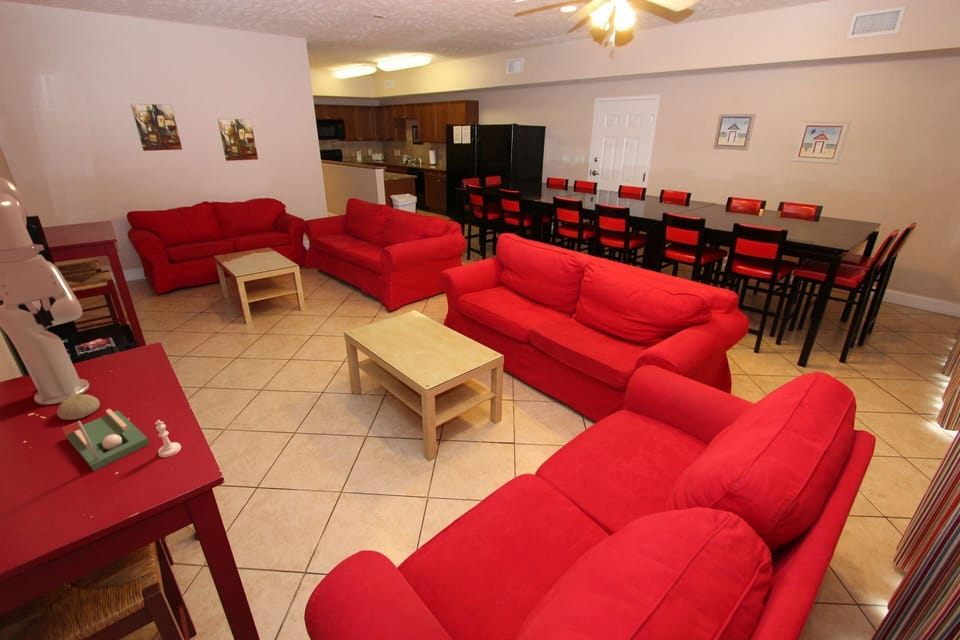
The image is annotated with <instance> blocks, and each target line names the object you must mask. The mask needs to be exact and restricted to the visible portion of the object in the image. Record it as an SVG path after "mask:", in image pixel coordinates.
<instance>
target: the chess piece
mask: <svg viewBox="0 0 960 640" xmlns="http://www.w3.org/2000/svg"><path fill="white" fill-rule="evenodd" d="M164 423H165V422H164V421H161V420H160V419H158V420H157V421H156V422H155V423H154V424H155V426H156V425H157V426H156V427H155V430H157V431H158V437H159V438H162V442H163V445H162V446H161V447H160V448H159V449H158V451H157V452H158V454H157V455H158V456H159V457H160V458H168V457H172V456H174V455H177V453H178V452H180V451H181V448H182V445H181V444H180V443H179V442H176V441H175V442H171V440H170V439H169V437H168V435H169V434H170V433H169V431H168V430H166V427H167V425H166V424H164Z"/></svg>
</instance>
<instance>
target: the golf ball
mask: <svg viewBox="0 0 960 640" xmlns="http://www.w3.org/2000/svg"><path fill="white" fill-rule="evenodd" d="M121 444H122V438H121V437H120V436H119V435H117V434H111V435H108V436H107V437H105V438H104V439H103V441H102V446H103V447H104V448H105V449H107V450H113V449H115V448H117V447H119V446H120V445H121Z"/></svg>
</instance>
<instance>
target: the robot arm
mask: <svg viewBox="0 0 960 640" xmlns="http://www.w3.org/2000/svg"><path fill="white" fill-rule="evenodd" d="M41 251H45V248H44V245H43V244H35V243H33V240H32V238H31V236H30V234H29V232H28V229H27V217H26V211H25V204H24V200H23V197H22V194H21V192H20V190H19V189H18V188H17V186H16V185H15V184H14V183H13V182H12V181H10V180H9V179H6V178H3V177H0V301H3V303H1V304H0V328H2V330H3V331H4V333H5V334H6V335H7V336H8V338H9V339H10V341H11V343H12V344H13V345H14V347H15V349H16V351H17V352H18V355H19V357H20V359H21V360H22V362H23V365H25V368H26V370H27V372H28V374H29V377H30V378H31V379H32V382H33V383H34V385H35V387H36V389H37V392H36V393H35V394H34V397H33V399H34V401H35V402H36V404H39V405H44V406H45V405H47V406H48V405H55V404H59V403H60V404H61V403H62V402H63V401H64V400H66V399H68V398H71V397H73V396H77V395H83V394H84V393H85V392H86V391H87V390H88V389H89V388H90V383H89V381H88V380H87V379H84V378H80V377H79V375H78V372H77V370H76V368H75V366H74V364H73V362H72V360H71V357H70V355H69V353H68V352H67V349H66V347H65V345H64V343H63V340H62V338H60V337H59V335H57V334H55V333H53V332H51V331H47V330H46V329H49V328H50V327H54V326H57V325H61V324H66V323H69V322H73V321H76V320H78V319H79V318H81V317H82V316H83V308H82V306H81V304H80V301H79V300H78V298H77V296H76V295H75V294H74V292H73V290H72V288H71V287H70V286H69V284H68V281H67V280H66V279H65V277H64V276H63V274H62V272H61V271H60V270H59V268H58V267H57V266H56V265H55V264H53V263H52V262H51V261H48V260H46V259H45V257H44V256H43V255H42V254H39V253H40V252H41Z"/></svg>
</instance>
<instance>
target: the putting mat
mask: <svg viewBox="0 0 960 640" xmlns="http://www.w3.org/2000/svg"><path fill="white" fill-rule="evenodd" d="M105 412H106V414H105V415H103V416H101V417H98V418H96V419H94V420H92V421H88V422H87V423H84V424H82V422H81V420H78V421H76V422H73V423H71V424H68V425H67V426H64V427H61V430H62V431H63V433H64V435H65V437H66V438H67V440H68V442H70V443H71V445H72V446H73V447H74V449H75V450H76V452H77V453H78V454H79V455H80V456H81V457H82V458H83V459H84V461H85V462H86V464H88V466H89V467H90V468H91V470H92V471H93V472H95V471H98V470H100V469H101V468H103V467H106V466H107V465H110V464H112V463H114V462H116V461H118V460H120V459H122V458H124V457H126V456H128V455H130V454H132V453H134V452H136V451H138V450H141V449H142V448H144V447H146V446H148V445H150V441H149V439H148V437H147V436H146V435H145V434H144V433H143V432H142V431H141V430H139V429H138V427H136V426H135V425H134V424H133V423H132V422H131V421H130V420H129V419H128V418H127V417H126V416H124V415H123V413H121V412H120V411H119V410H116V411H113V410H112V409H111V408H108V409H106V410H105ZM111 434H117V435H119V436H120V437H121V438H122V444H121V445H120V446H119V447H117V448H115V449H113V450H107V449H105V448H104V447H103V446H102V441H103V439H104V438H105V437H107V436H108V435H111Z"/></svg>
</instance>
